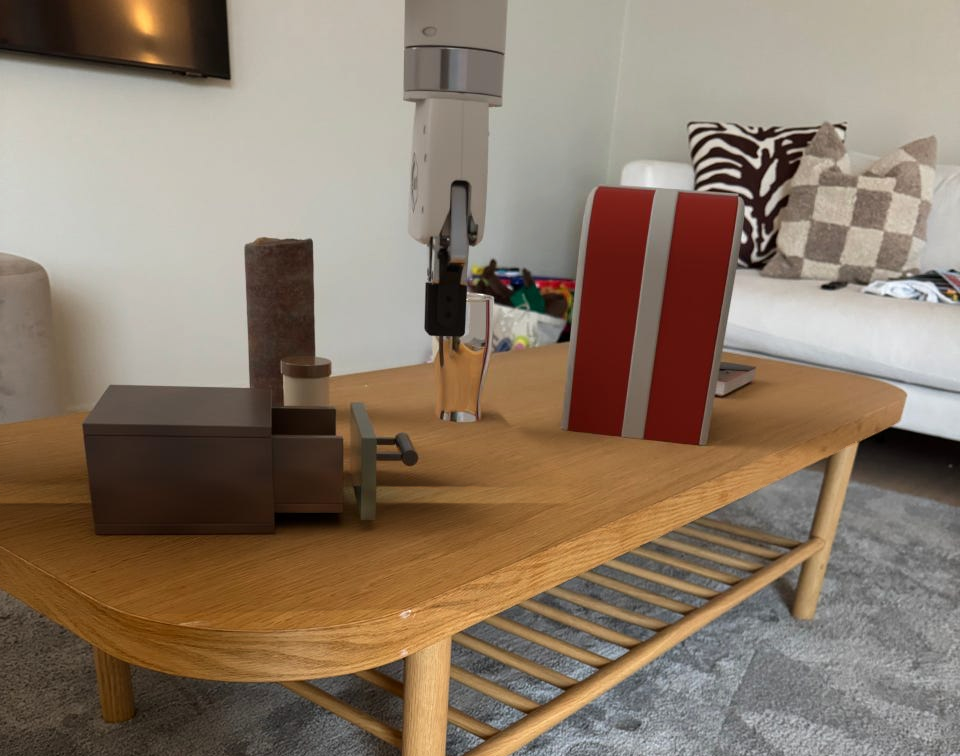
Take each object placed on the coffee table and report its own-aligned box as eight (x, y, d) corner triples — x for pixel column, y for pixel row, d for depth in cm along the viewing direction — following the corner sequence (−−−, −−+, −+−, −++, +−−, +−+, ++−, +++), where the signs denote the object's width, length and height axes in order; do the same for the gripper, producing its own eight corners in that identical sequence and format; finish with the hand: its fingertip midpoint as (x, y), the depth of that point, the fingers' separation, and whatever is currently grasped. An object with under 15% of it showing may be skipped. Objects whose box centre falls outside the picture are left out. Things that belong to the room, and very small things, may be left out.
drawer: (403, 475, 91) (405, 403, 88) (421, 519, 80) (425, 438, 77) (225, 474, 88) (221, 399, 85) (218, 520, 77) (213, 435, 74)
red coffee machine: (575, 402, 130) (598, 183, 118) (706, 416, 128) (743, 193, 116) (559, 429, 116) (584, 182, 104) (707, 446, 113) (750, 195, 101)
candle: (295, 439, 104) (291, 241, 95) (237, 429, 106) (227, 234, 97) (328, 424, 111) (327, 238, 102) (273, 415, 113) (267, 232, 104)
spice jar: (283, 471, 93) (280, 364, 89) (283, 457, 98) (280, 355, 93) (333, 471, 94) (332, 366, 90) (330, 458, 98) (330, 356, 94)
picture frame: (753, 382, 152) (627, 362, 161) (756, 366, 151) (629, 347, 160) (722, 398, 139) (587, 375, 148) (725, 381, 138) (588, 359, 147)
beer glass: (418, 431, 111) (423, 294, 104) (442, 419, 117) (448, 289, 110) (473, 440, 109) (482, 301, 102) (495, 428, 114) (505, 295, 108)
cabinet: (274, 482, 90) (271, 388, 86) (274, 534, 78) (271, 426, 74) (119, 482, 87) (109, 384, 83) (95, 535, 75) (81, 423, 71)
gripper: (392, 84, 78) (390, 319, 86) (417, 70, 65) (411, 349, 73) (483, 91, 79) (472, 322, 87) (525, 78, 66) (507, 351, 74)
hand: (444, 334), depth 80 cm, fingers closed
